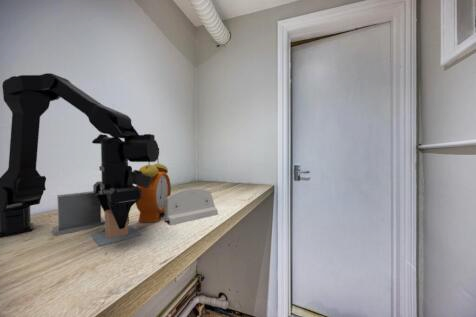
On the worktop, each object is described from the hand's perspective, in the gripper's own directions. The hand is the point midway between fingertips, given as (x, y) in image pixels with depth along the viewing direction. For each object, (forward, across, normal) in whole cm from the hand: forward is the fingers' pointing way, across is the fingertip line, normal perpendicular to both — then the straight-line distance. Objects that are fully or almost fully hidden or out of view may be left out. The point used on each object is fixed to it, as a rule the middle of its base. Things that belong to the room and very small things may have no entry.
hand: (116, 223), depth 50 cm
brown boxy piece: (+3, 0, 0) cm, 3 cm away
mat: (+3, 0, 0) cm, 3 cm away
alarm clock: (+3, +8, -13) cm, 15 cm away
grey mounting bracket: (+3, -1, -21) cm, 21 cm away
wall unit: (+3, +13, +6) cm, 14 cm away
